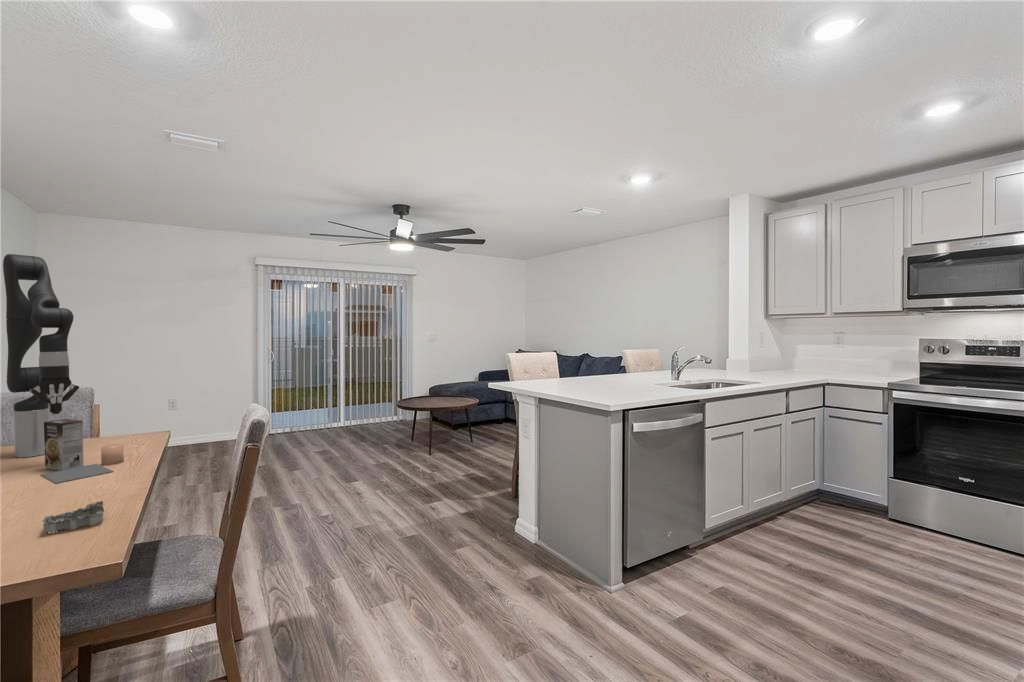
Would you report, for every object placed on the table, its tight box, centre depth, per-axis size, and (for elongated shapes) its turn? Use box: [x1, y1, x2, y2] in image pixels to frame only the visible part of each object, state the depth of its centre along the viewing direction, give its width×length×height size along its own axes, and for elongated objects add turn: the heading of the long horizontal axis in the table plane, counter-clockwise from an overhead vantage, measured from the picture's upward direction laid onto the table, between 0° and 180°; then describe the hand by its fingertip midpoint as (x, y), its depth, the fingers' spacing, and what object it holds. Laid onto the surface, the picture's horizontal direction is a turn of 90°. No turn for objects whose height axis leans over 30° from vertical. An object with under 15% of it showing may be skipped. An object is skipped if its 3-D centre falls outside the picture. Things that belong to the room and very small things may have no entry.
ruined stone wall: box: [42, 500, 105, 534], centre depth 111 cm, size 11×8×4 cm
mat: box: [40, 463, 114, 485], centre depth 152 cm, size 16×14×1 cm
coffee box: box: [44, 418, 84, 471], centre depth 158 cm, size 9×6×16 cm
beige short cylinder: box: [100, 443, 125, 466], centre depth 164 cm, size 6×6×6 cm
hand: (55, 413), depth 163 cm, fingers closed
